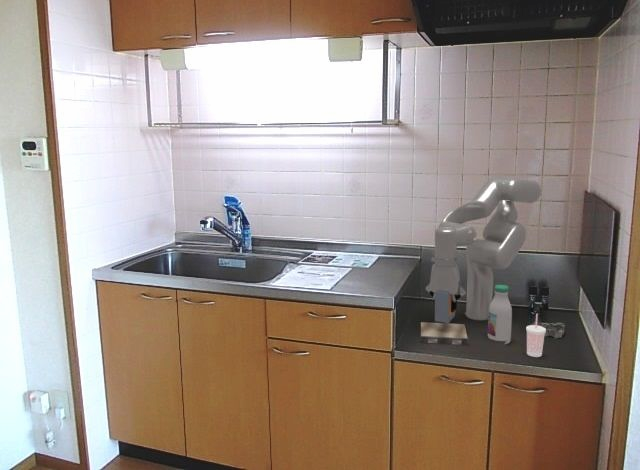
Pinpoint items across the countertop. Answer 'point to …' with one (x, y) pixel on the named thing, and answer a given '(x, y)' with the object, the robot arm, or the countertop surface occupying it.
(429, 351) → the countertop surface
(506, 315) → the milk bottle
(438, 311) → the carton
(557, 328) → the egg carton
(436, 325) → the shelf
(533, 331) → the beverage cup
